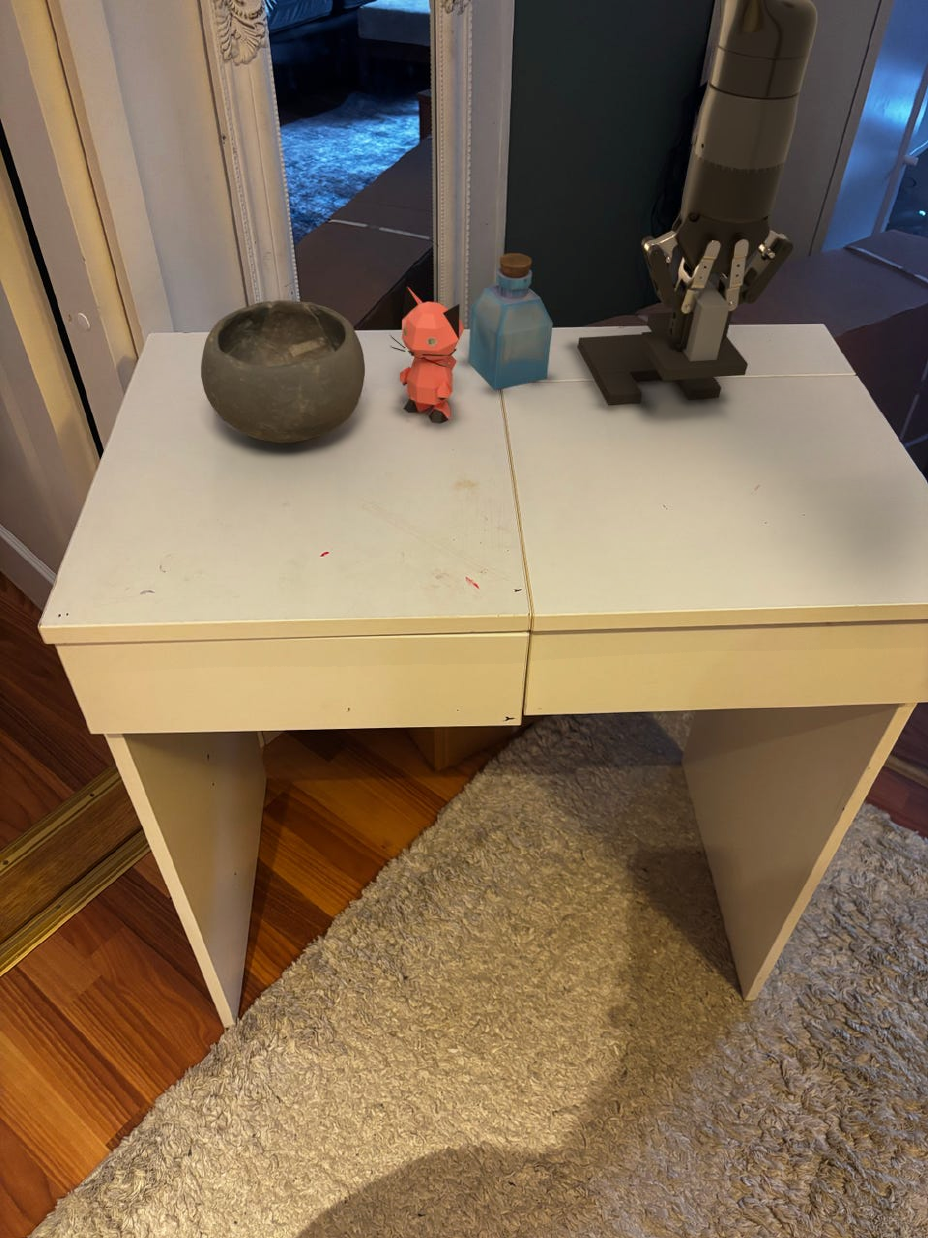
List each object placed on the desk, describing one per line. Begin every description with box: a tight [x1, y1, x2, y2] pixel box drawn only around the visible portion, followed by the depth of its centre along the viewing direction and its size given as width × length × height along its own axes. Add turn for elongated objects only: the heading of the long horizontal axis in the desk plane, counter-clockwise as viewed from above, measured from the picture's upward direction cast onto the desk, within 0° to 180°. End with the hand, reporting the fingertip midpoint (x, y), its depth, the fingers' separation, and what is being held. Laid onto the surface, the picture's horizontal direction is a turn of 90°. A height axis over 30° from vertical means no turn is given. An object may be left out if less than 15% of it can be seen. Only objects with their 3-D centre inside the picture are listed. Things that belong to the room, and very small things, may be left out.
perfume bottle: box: [468, 252, 554, 391], centre depth 95 cm, size 6×6×12 cm
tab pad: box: [640, 280, 749, 382], centre depth 87 cm, size 8×11×6 cm
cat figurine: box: [388, 285, 465, 424], centre depth 89 cm, size 7×7×12 cm
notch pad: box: [577, 333, 722, 406], centre depth 100 cm, size 12×12×1 cm
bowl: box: [200, 299, 366, 444], centre depth 87 cm, size 15×15×10 cm
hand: (695, 343), depth 87 cm, fingers closed on tab pad, 2 cm apart
